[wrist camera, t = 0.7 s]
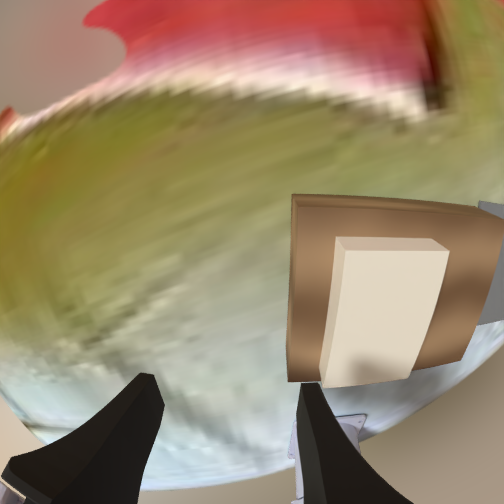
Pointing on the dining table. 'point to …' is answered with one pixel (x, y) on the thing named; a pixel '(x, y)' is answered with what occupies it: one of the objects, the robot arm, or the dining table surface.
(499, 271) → the mat
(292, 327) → the plate
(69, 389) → the dining table surface
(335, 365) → the cream rectangular block
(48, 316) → the dining table surface
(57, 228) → the dining table surface
